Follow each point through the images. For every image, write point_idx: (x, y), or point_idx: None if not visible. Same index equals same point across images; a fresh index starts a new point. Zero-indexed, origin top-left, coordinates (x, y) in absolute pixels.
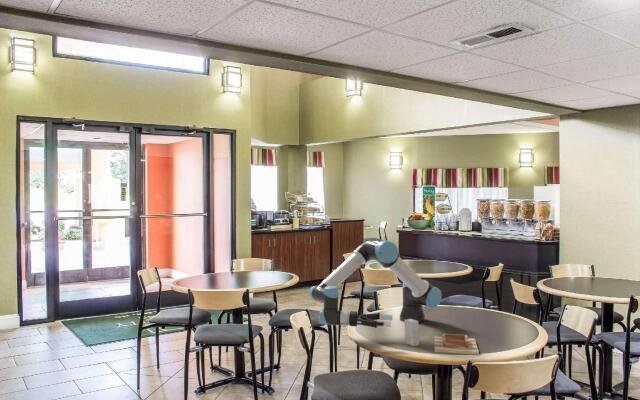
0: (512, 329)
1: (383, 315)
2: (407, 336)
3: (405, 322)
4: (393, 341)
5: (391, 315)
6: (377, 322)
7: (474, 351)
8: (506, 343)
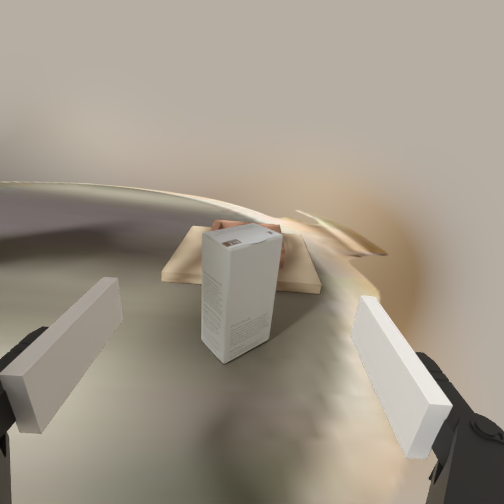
0: (105, 196)
1: (63, 339)
2: (244, 324)
3: (237, 262)
4: (181, 427)
5: (114, 282)
6: (465, 414)
7: (302, 238)
8: (206, 212)
